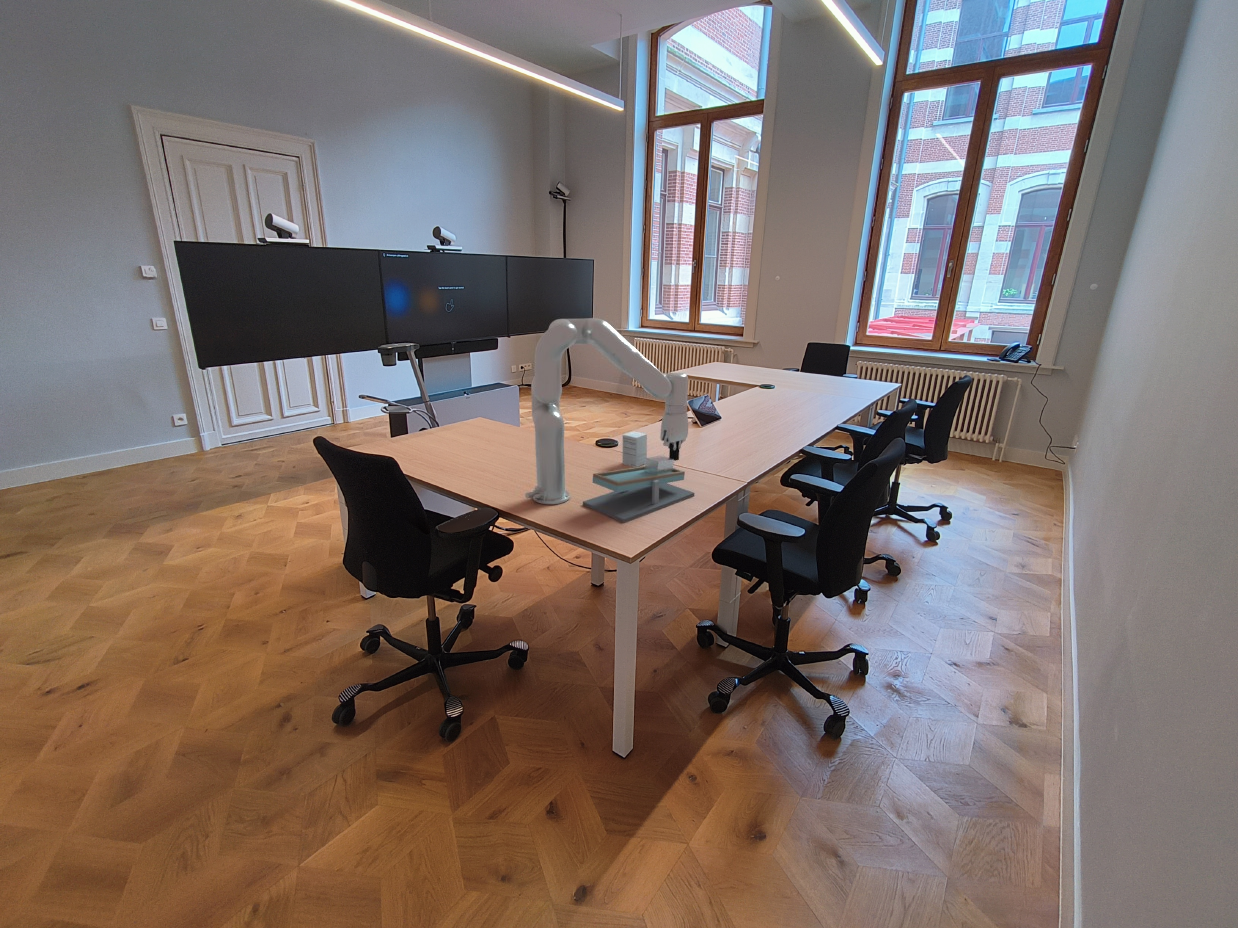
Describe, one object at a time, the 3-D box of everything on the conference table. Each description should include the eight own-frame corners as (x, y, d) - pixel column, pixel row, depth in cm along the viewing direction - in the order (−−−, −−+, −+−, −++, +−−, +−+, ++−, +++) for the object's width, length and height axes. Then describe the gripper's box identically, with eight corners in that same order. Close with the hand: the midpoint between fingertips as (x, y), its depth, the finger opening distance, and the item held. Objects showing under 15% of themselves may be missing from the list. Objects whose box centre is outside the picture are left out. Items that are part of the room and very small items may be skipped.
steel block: (656, 475, 190) (658, 461, 189) (644, 471, 194) (645, 457, 193) (672, 473, 196) (674, 459, 195) (659, 469, 200) (661, 455, 199)
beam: (617, 492, 174) (618, 483, 174) (592, 482, 183) (593, 473, 182) (683, 479, 196) (684, 471, 195) (658, 471, 204) (659, 463, 204)
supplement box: (632, 460, 235) (633, 430, 231) (647, 463, 231) (647, 433, 227) (621, 464, 230) (622, 434, 226) (636, 467, 225) (636, 437, 221)
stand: (623, 522, 174) (624, 495, 171) (582, 504, 188) (582, 479, 185) (694, 495, 196) (695, 471, 193) (652, 481, 210) (653, 458, 207)
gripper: (681, 404, 201) (679, 453, 207) (653, 410, 191) (651, 461, 197) (698, 407, 196) (695, 457, 202) (669, 414, 186) (667, 466, 192)
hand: (674, 459), depth 199 cm, fingers closed
